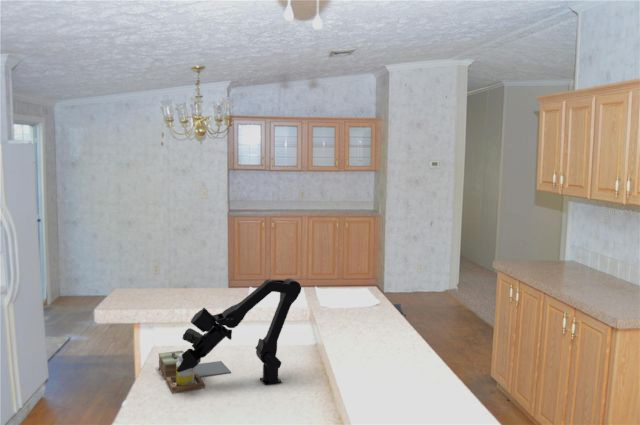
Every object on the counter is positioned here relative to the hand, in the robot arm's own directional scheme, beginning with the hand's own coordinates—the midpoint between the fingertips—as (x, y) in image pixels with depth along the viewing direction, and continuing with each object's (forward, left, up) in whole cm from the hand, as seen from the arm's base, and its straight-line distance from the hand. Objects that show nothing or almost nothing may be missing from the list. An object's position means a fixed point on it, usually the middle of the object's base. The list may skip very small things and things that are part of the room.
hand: (182, 367), depth 197 cm
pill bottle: (-1, -1, -7) cm, 7 cm away
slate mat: (+12, -13, -7) cm, 19 cm away
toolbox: (+8, -1, -7) cm, 10 cm away
